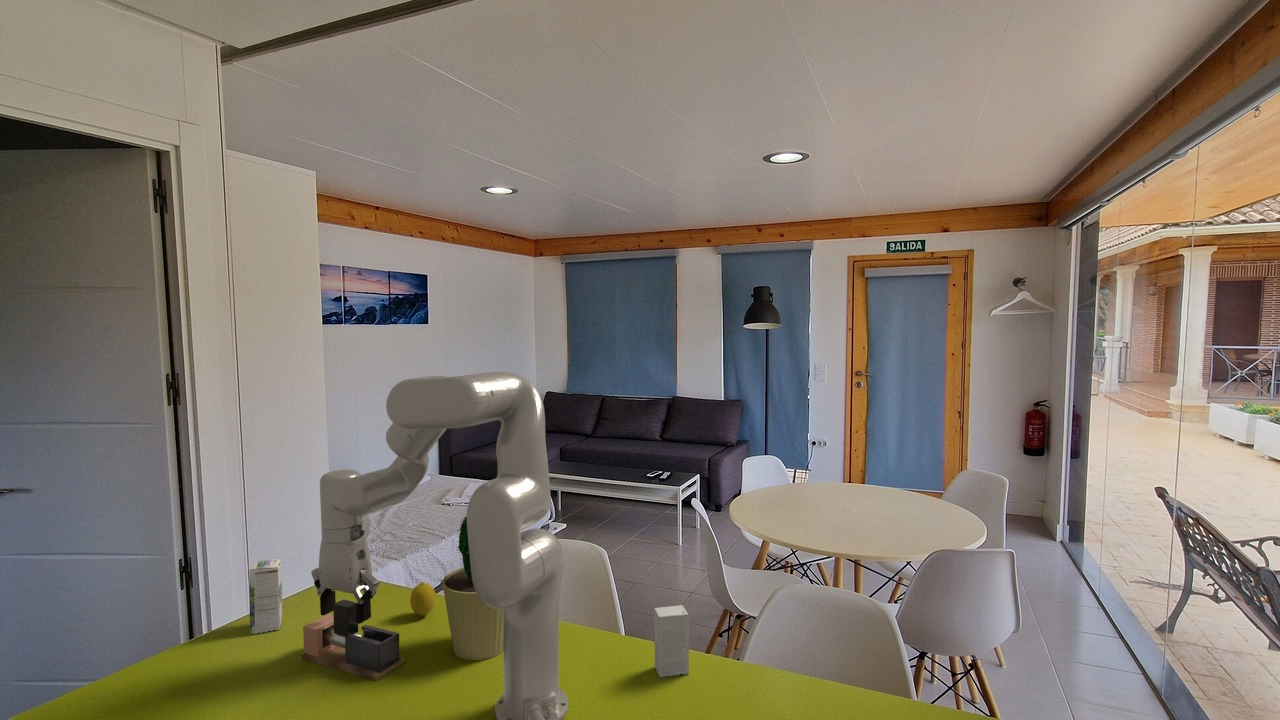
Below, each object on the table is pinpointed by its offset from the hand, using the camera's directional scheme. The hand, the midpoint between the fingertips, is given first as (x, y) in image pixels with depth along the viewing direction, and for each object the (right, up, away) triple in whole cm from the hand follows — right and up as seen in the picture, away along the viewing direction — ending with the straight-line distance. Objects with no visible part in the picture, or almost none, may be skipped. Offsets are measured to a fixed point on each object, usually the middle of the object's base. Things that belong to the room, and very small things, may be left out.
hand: (345, 616), depth 126 cm
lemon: (+9, -8, +19) cm, 23 cm away
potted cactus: (+26, -9, +6) cm, 28 cm away
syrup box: (-24, -8, +14) cm, 29 cm away
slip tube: (-2, -6, +1) cm, 7 cm away
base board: (+1, -9, 0) cm, 9 cm away
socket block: (-6, -9, +3) cm, 11 cm away
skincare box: (+65, -9, -4) cm, 66 cm away
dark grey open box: (+6, -9, -2) cm, 11 cm away
